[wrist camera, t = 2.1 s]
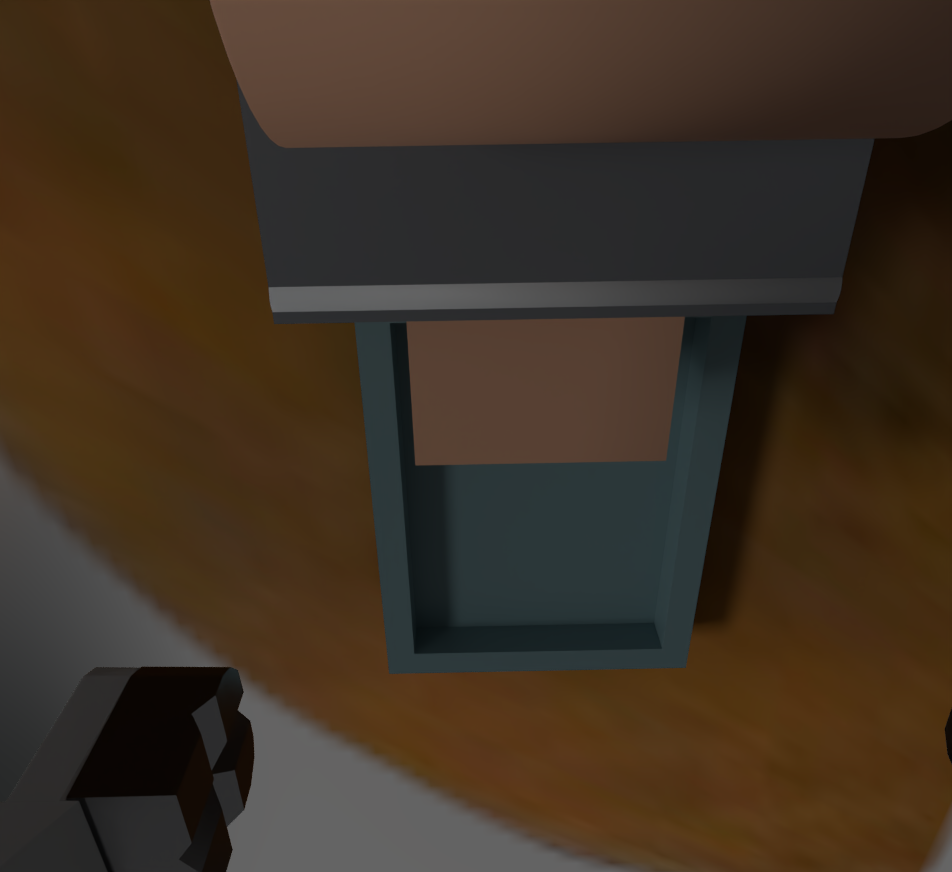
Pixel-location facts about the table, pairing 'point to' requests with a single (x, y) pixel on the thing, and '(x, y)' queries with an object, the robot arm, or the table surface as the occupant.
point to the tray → (544, 531)
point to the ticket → (543, 389)
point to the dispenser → (571, 150)
